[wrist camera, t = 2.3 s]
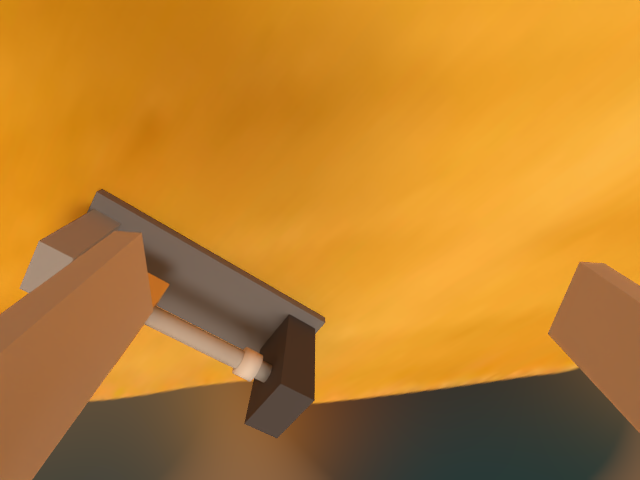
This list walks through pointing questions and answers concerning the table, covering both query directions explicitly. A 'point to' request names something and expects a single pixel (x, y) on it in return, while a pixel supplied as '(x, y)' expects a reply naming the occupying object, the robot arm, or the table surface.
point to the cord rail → (206, 308)
